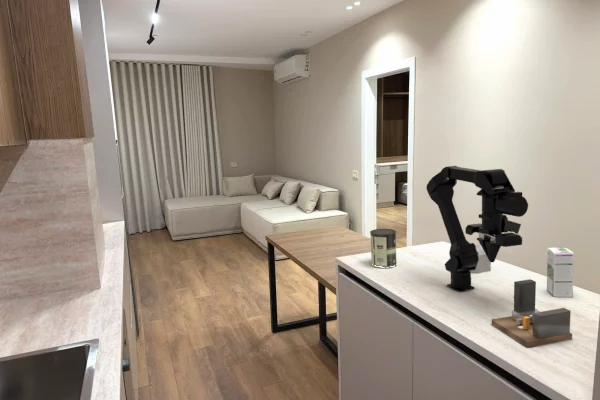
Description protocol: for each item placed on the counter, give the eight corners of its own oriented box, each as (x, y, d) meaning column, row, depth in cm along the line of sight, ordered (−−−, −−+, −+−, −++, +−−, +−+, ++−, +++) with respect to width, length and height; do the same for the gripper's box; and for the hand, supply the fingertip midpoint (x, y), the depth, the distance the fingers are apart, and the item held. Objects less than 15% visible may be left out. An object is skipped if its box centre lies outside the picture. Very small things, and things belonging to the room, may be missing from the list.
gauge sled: (507, 319, 112) (508, 282, 111) (530, 315, 114) (531, 279, 112) (522, 327, 107) (523, 289, 105) (546, 323, 109) (547, 285, 107)
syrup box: (573, 297, 128) (575, 252, 125) (552, 297, 129) (554, 252, 127) (565, 290, 133) (567, 247, 131) (545, 290, 134) (547, 247, 132)
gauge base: (491, 324, 114) (491, 298, 112) (532, 317, 116) (532, 292, 115) (527, 347, 101) (528, 319, 100) (572, 339, 103) (573, 311, 102)
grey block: (472, 274, 152) (473, 252, 151) (448, 265, 164) (448, 244, 163) (494, 270, 156) (494, 247, 154) (469, 261, 168) (469, 240, 166)
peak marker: (522, 327, 107) (523, 316, 106) (526, 327, 107) (527, 316, 106) (525, 329, 106) (525, 318, 105) (529, 328, 106) (530, 317, 106)
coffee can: (393, 260, 175) (393, 227, 172) (399, 268, 164) (398, 233, 162) (369, 261, 175) (368, 229, 173) (373, 269, 165) (372, 235, 163)
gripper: (539, 213, 116) (538, 267, 118) (495, 204, 134) (494, 251, 136) (504, 217, 114) (504, 272, 116) (464, 207, 132) (464, 255, 134)
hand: (491, 261), depth 126 cm, fingers closed
